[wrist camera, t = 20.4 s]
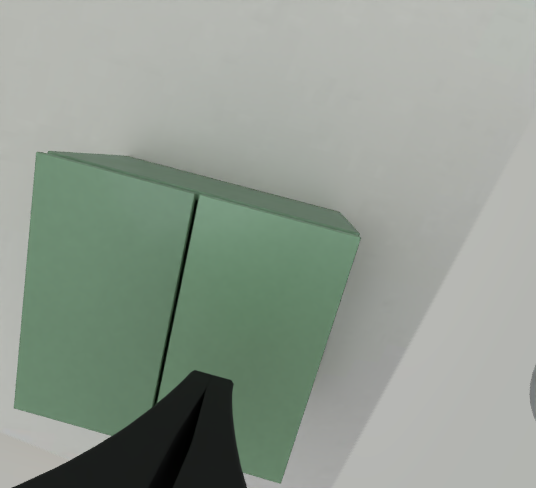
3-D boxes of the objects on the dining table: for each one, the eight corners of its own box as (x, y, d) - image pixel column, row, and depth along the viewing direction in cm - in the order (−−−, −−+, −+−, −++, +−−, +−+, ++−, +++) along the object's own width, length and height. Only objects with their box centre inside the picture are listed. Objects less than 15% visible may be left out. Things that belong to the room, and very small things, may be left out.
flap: (359, 236, 13) (361, 237, 13) (281, 478, 16) (280, 484, 15) (201, 194, 13) (199, 194, 13) (150, 440, 16) (148, 444, 16)
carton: (340, 212, 20) (363, 237, 13) (286, 386, 22) (282, 485, 15) (125, 155, 20) (34, 149, 13) (98, 334, 23) (11, 408, 16)
